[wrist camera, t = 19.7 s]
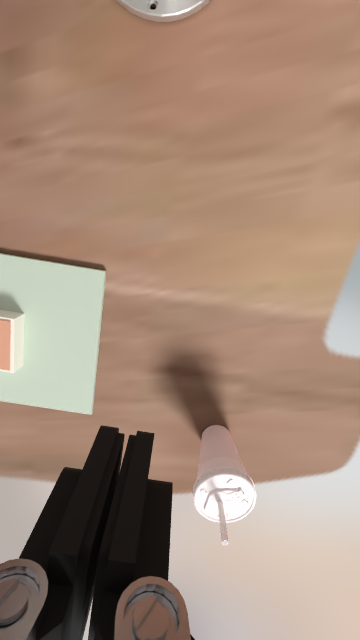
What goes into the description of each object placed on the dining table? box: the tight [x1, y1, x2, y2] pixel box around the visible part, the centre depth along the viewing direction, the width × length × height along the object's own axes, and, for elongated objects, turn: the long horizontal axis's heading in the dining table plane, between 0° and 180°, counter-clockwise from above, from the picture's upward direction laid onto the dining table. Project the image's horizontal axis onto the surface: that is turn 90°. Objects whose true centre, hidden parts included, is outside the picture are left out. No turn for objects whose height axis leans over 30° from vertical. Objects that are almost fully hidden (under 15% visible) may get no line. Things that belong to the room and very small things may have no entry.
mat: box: [0, 253, 106, 415], centre depth 37 cm, size 18×20×1 cm
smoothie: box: [193, 425, 256, 545], centre depth 35 cm, size 6×6×14 cm
